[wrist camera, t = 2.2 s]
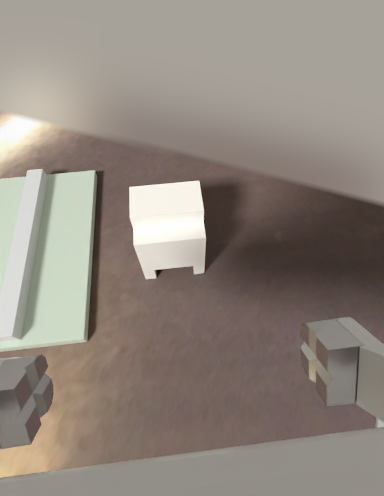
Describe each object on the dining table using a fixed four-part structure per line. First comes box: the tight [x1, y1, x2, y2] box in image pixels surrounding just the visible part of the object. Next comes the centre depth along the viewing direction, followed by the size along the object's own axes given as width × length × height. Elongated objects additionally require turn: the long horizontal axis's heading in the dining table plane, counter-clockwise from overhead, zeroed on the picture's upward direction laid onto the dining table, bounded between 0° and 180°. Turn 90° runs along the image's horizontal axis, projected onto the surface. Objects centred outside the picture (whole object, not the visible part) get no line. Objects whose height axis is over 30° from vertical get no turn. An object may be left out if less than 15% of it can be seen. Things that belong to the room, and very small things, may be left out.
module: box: [129, 181, 206, 279], centre depth 27 cm, size 5×6×8 cm
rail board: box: [0, 169, 97, 352], centre depth 29 cm, size 19×12×2 cm, turn 6°
